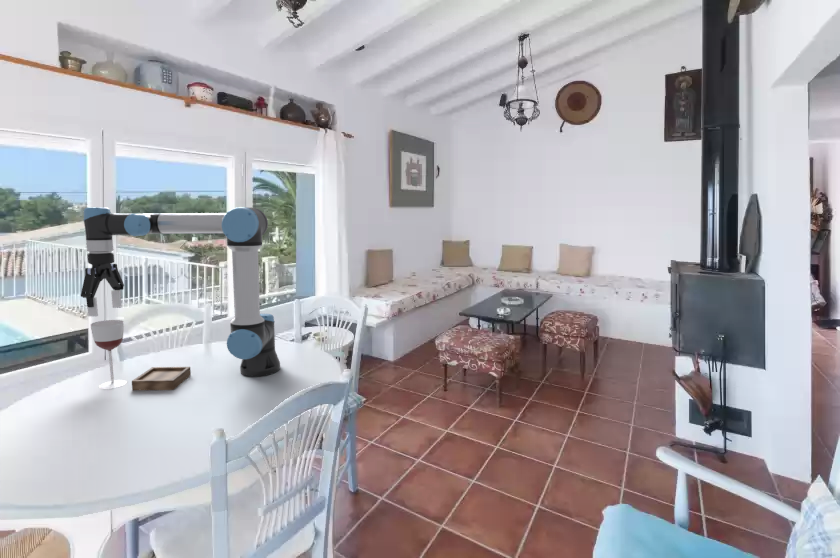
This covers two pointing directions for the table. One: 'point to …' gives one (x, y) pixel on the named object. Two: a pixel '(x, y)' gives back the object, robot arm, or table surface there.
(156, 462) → the table surface
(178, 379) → the tray
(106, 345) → the wineglass
